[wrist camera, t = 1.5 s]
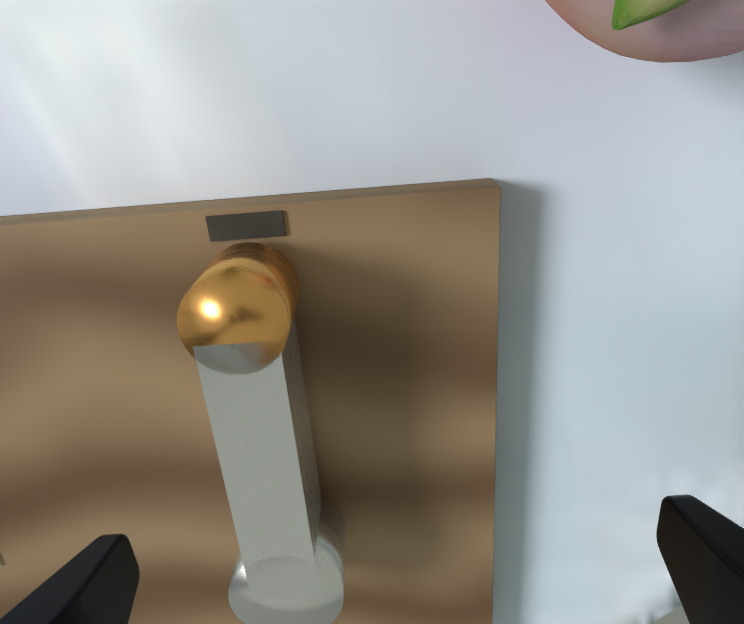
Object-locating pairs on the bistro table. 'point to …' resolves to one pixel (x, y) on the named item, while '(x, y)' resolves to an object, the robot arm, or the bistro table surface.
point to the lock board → (322, 383)
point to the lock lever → (264, 437)
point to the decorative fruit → (658, 27)
